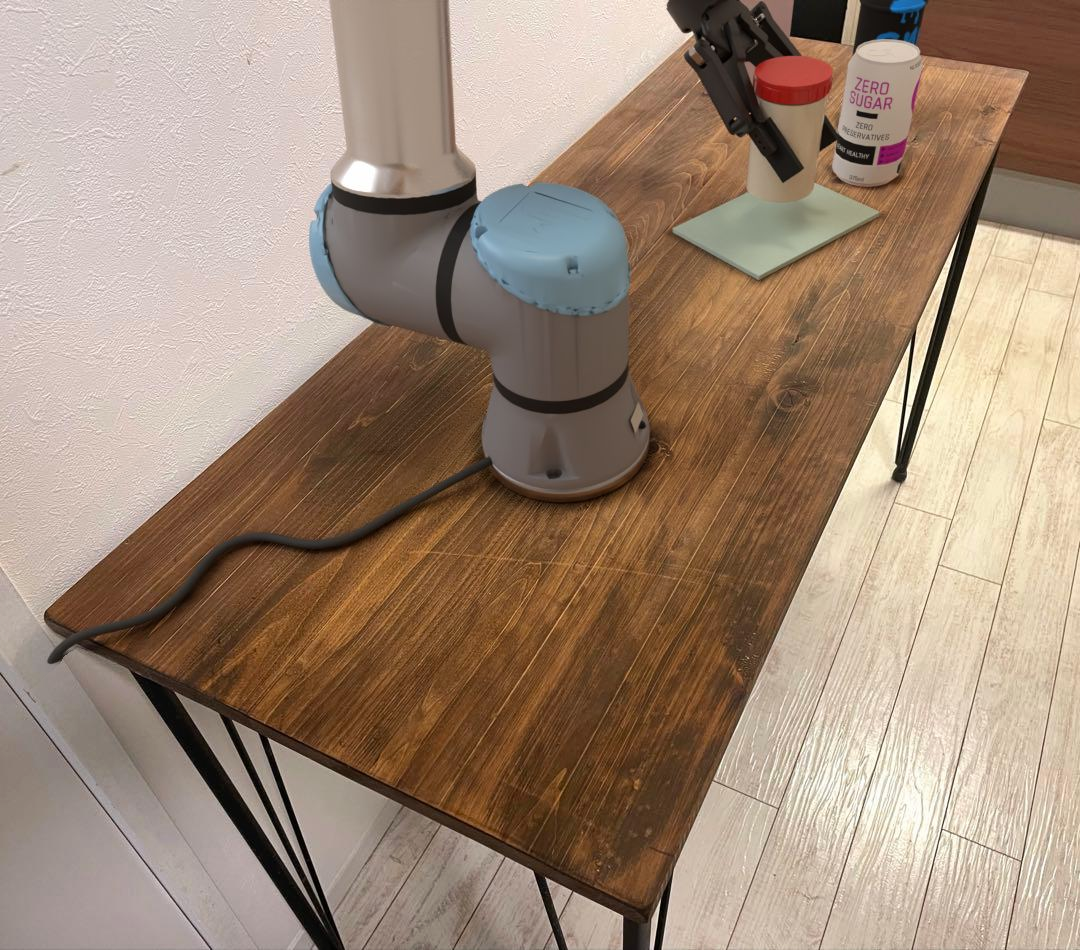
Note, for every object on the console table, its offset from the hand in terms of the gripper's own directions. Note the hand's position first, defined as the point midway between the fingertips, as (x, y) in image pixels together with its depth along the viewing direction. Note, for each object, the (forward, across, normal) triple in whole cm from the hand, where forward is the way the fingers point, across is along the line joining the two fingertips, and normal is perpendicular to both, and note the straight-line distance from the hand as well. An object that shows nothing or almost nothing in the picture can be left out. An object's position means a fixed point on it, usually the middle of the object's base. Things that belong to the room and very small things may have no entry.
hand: (811, 159), depth 101 cm
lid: (-8, 0, +4) cm, 9 cm away
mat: (+4, 0, -9) cm, 10 cm away
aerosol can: (+3, -31, -10) cm, 32 cm away
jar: (0, 0, -5) cm, 5 cm away
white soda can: (+6, -17, -6) cm, 19 cm away
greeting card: (-12, -31, -25) cm, 41 cm away
